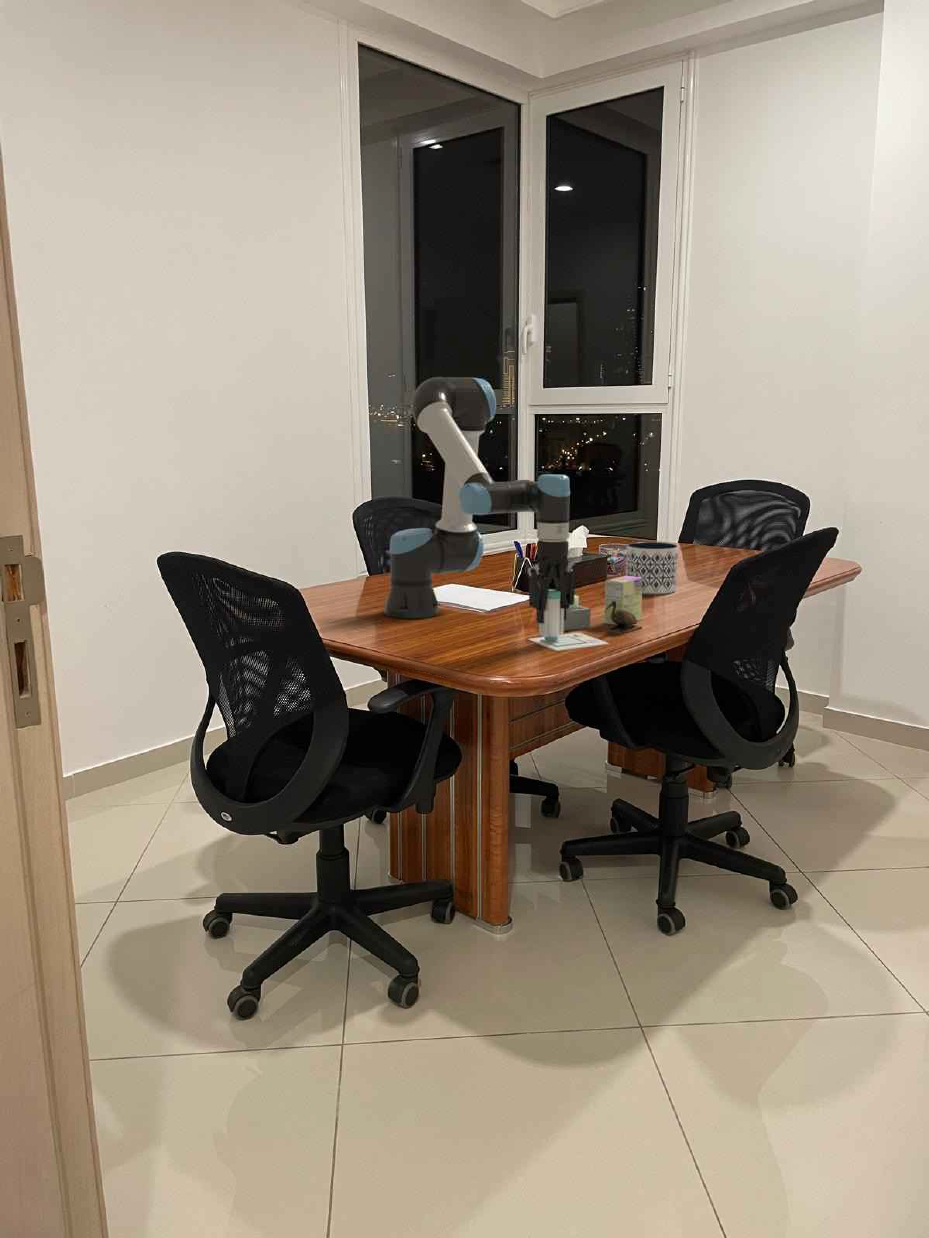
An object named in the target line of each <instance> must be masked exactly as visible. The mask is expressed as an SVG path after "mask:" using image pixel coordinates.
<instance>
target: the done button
mask: <svg viewBox="0 0 929 1238" xmlns="http://www.w3.org/2000/svg"><path fill="white" fill-rule="evenodd" d="M579 597H580V596H579V595H576V594H574V604H573V605H569V608H568V609H567V610H576V609H578V605H579V602H580V601H579V599H580V598H579ZM567 610H566V611H567Z"/></svg>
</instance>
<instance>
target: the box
mask: <svg viewBox="0 0 929 1238" xmlns="http://www.w3.org/2000/svg"><path fill="white" fill-rule="evenodd" d="M604 583H605V584H604V585H605V587H604V612H605V611H606V609H607V607H608V606H609V605H610V604H611V603H612V601H616V609H615V610H625V611H628V612H630V613H632V614H633V615H634V616H635V617H636V620H637V622H638V621H641V620H642V610H643V609H642V608H643V607H642V605H643V604H642V601H643V594H642V577H634V576H626V575H624V576H619V577H615V578H611V579H606V580H604ZM612 611H613V606H610V607H609V608H608V609H607V611H606V614H605V613H604V620H603V621H604V624H607V625H613V626H618V625H617V624H616V623H614V622H613V621H612V620H611V614H612Z"/></svg>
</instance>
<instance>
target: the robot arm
mask: <svg viewBox="0 0 929 1238" xmlns="http://www.w3.org/2000/svg"><path fill="white" fill-rule="evenodd" d="M495 395H496V394H495V392H494V390H493V388H492V386H491V384H490V383H489V382H488V381H487V380H486V379H483V378H478V377H470V376H468V377H467V376H466V377H461V376H460V377H457V376H456V377H453V376H452V377H451V376H450V377H449V376H447V377H446V376H445V377H444V376H443V377H442V376H437V377H436V376H434V377H431V378H429V379H426V380H425V381H423V382H422V383H420V384H419V386H417V388H416V390H415V392H414V393H413V395H412V399H411V413H412V417H413V420H414V422H415V424H416V425H417V427H418V428H419V430H420V431H421V432H424V433H426V434H427V435H428V437H429V439H430V440H431V442H432V443H433V445H434V446H435V448H436V449H437V452H438V453H439V454H440V456H441V458H442V460H443V461H444V463H445V466H444V481H443V495H442V509H441V518H440V519H439V520H438V521H437V522H435V528H434V532H433V530H432V529H430V528H429V527H428V528H427V527H419V528H418V527H417V528H409V529H403V530H400V531H397V532H395V533H394V534H392V535H391V537H390V540H389V541H390V542H389V548H388V549H389V568H390V569H389V570H390V588H389V591H388V593H387V598H386V601H385V605H384V614H385V616H387V617H391V618H394V619H395V618H396V619H424V618H432V617H434V616H437V615H438V614H440V611H439V609H440V607H439V603H438V599H437V596H436V593H435V589H434V587H433V575H442V574H451V573H453V574H454V573H463V572H469V571H473V570H474V569H476V567H478V566H479V564H480V562H481V561H482V558H483V555H484V550H485V548H484V542H483V537H482V534H481V533H480V532H479V531H478V530H477V529H478V527H477V525H476V524H475V523H474V522H473V516H474V515H475V516H477V515H478V516H484V515H493V514H494V515H495V514H510V513H512V514H513V513H514V514H515V513H537V529H536V530H537V531H536V538H538V541H537V542H536V543H537V544H536V555H537V560H536V562H535V565H532V566H531V567H526V574H527V576H528V605H529V607H530V608H533V609H535V610H536V622H537V623H538V636H539V637H540V636H541V637H547V630H548V610H545V606H546V601H547V595H548V590H549V589H550V584H551V583H552V580H553V582H554V585H555V586H554V587H555V590H559V591H561V598H560V634H559V635H564V634H565V631H564V621H566V610H567V609H568V608H569V605H573V604H574V595H575V592H576V591H575V590H576V574H577V572H578V569H579V566H578V564H574V563H570V562H569V560H568V556H569V545H570V544H569V543H570V542H569V541H568V539H569V533H570V532H569V531H570V529H569V528H570V523H569V522H570V505H571V504H570V502H571V501H570V500H571V497H570V496H571V489H570V477H569V476H567V475H566V474H552V473H551V474H550V473H548V474H541V475H539V476H538V479H537V481H534V480H529V479H518V480H514V481H494V480H493V478H492V477H491V475H490V473H489V472H488V471H487V470H486V467H485V466H484V465H483V463H482V461H481V460H480V459H479V457H478V454H479V444H480V443H479V440H480V436H481V435H482V434H483V433H485V431H486V423H489V422H491V421H493V419H494V417H495V415H496V411H497V400H496V396H495ZM565 571H566V572H565ZM539 574H540V575H539ZM538 575H539V577H538Z"/></svg>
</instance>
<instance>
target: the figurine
mask: <svg viewBox="0 0 929 1238" xmlns="http://www.w3.org/2000/svg"><path fill="white" fill-rule="evenodd" d="M610 606H613V611H612V614H611V620H612V621H613V622H614V623H616V624H617V625H615V626H612V627H611V628H608V629H607V630H606V633H607V634H614V635H618V636H623V635H627V634H630V633H633V632H637V631H640V630H643V627H642V626H640V625H637V624H638V621H637V620H636V617H635V616H634V615H633V614H632V613H630V612H628V611H625V610H615V609H616V601H612V603H611V604H610V605H609V606H608V607H607V609H608V608H609V607H610ZM607 609H606V611H607ZM606 611H605V610H604V615H605V614H606Z"/></svg>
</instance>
